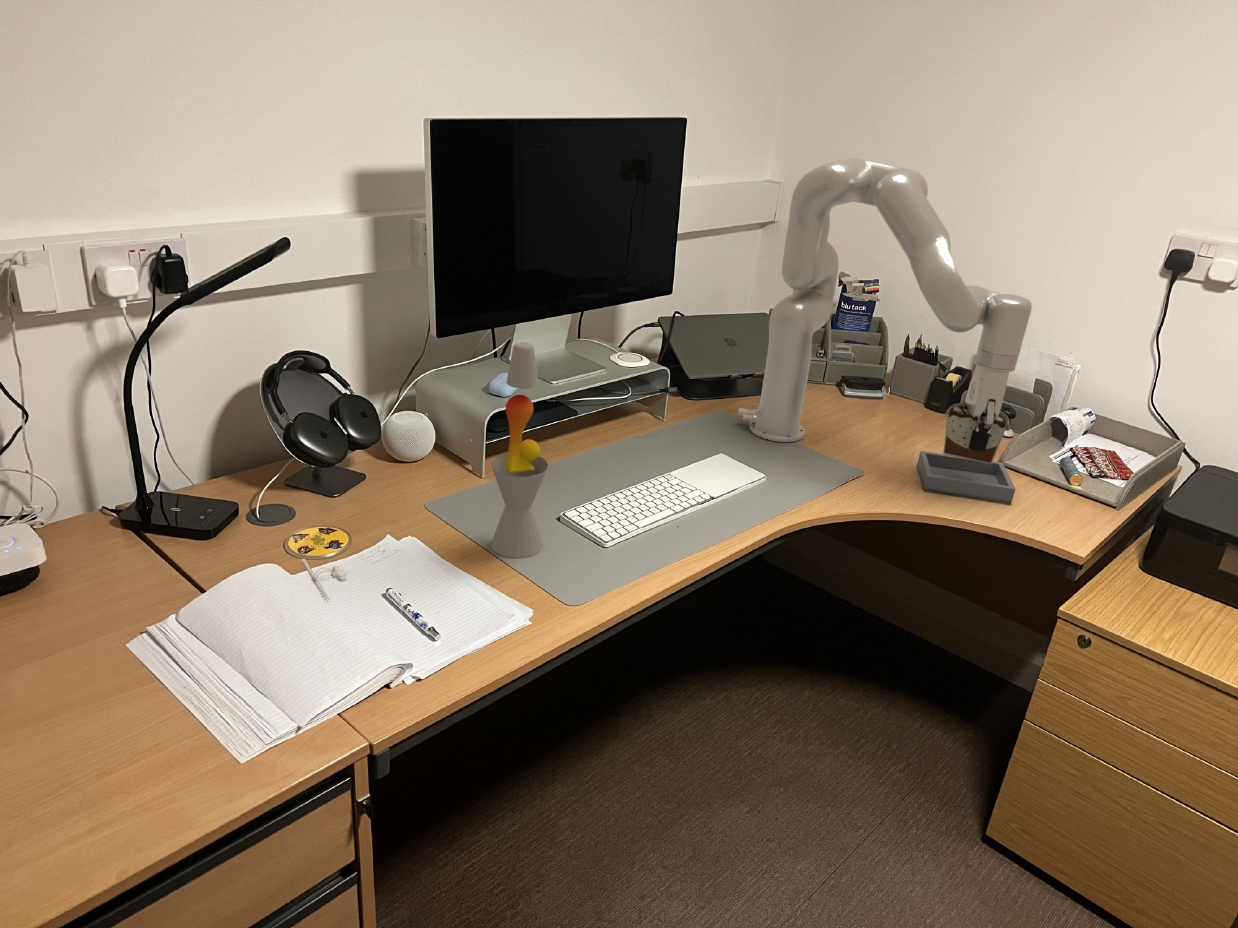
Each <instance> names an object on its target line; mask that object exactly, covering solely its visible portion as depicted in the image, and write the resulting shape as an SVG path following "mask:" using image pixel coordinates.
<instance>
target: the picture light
mask: <svg viewBox="0 0 1238 928" xmlns="http://www.w3.org/2000/svg"><path fill="white" fill-rule="evenodd" d="M301 562H302V564H303V565H304V568H305V569H306V570H307V572H308V574H309V575H310V578H311V580H312V581H313V583H314V584H315V587H316V588H317V590H318V589H319V590H320V591H319V590H318V591H319V593H320V592H321V593H320V595H321V594H322V595H323V596H322V595H321V596H322V598H323V597H324V598H325V600H327V599H328V600H330V598H329V597H328V595H327V594H326V592H325V590H324V588H323V587H322V585H321V584H320V582H319V580H318V576H320V574H321V573H323V572H330V573H331V575H332V577H333V578H334V579H336V578H337V580H339V581H340V582H343V581H344V582H345V581H346V576H345V573H344V572H343V570H342V569H341V567H340V566H339V565H334V566H333V567H332V569H331V568H329V567H321V568H319V569H318V570H317V571H315V573H314V572H313V570H312V568H311V566H310V564H309V563H308V561H307V560H306V559H305V558H302V559H301ZM322 569H325V570H322ZM320 570H321V571H320ZM319 571H320V572H319ZM318 572H319V573H318ZM317 573H318V574H317ZM324 598H323V599H324ZM325 600H324V601H325ZM328 600H327V602H328ZM327 602H326V603H327Z"/></svg>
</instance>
